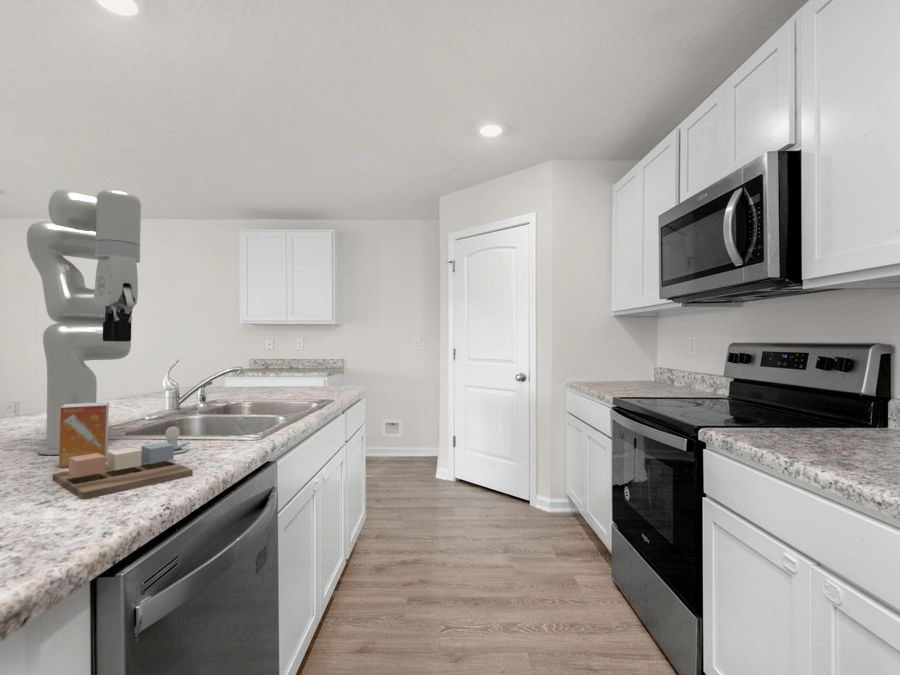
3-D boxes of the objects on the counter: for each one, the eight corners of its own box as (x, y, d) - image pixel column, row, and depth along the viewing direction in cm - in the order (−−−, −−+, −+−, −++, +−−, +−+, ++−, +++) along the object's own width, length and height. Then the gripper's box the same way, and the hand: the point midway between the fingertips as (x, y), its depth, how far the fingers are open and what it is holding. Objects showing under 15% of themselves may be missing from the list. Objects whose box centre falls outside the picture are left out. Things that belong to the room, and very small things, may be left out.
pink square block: (68, 473, 86) (68, 457, 86) (97, 468, 89) (97, 452, 89) (76, 477, 83) (76, 461, 83) (105, 472, 86) (105, 456, 86)
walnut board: (52, 480, 89) (52, 473, 89) (155, 461, 103) (155, 455, 103) (82, 499, 78) (83, 492, 78) (192, 475, 93) (192, 469, 93)
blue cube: (141, 460, 95) (141, 445, 95) (164, 456, 99) (164, 442, 99) (150, 463, 93) (150, 449, 93) (173, 459, 96) (173, 445, 96)
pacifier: (187, 454, 110) (190, 448, 116) (187, 429, 110) (190, 424, 116) (151, 458, 107) (156, 451, 113) (152, 431, 107) (156, 426, 113)
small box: (58, 468, 97) (59, 407, 97) (63, 461, 102) (64, 403, 102) (106, 463, 101) (107, 404, 102) (108, 457, 107) (109, 401, 107)
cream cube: (106, 466, 90) (107, 451, 90) (132, 461, 94) (132, 447, 94) (115, 470, 88) (115, 454, 88) (141, 465, 91) (141, 450, 91)
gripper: (82, 254, 96) (80, 341, 96) (111, 244, 86) (110, 341, 86) (123, 259, 102) (122, 341, 102) (155, 251, 92) (154, 341, 92)
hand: (116, 340), depth 94 cm, fingers open, 4 cm apart
